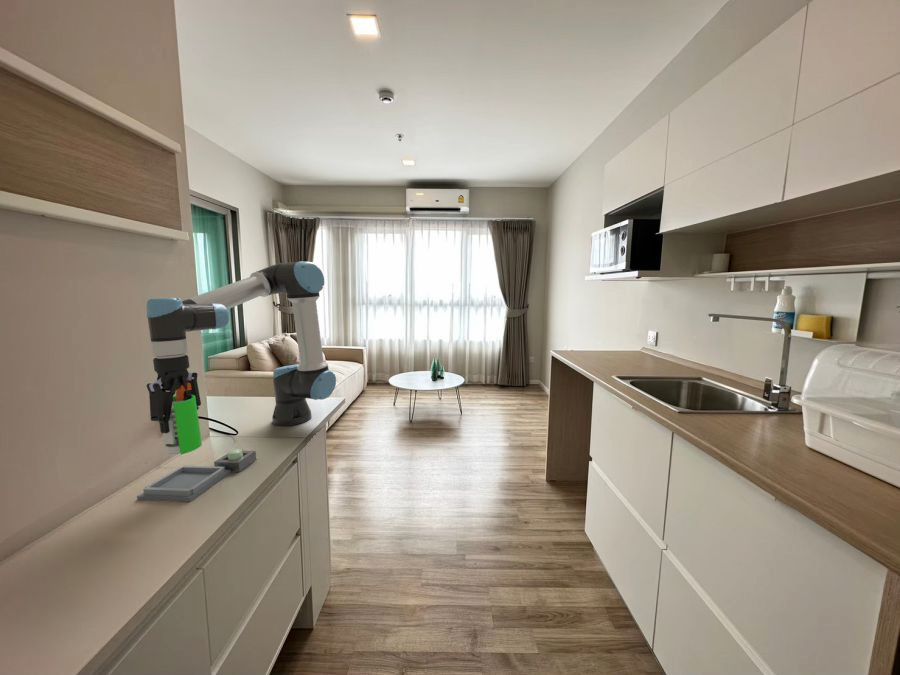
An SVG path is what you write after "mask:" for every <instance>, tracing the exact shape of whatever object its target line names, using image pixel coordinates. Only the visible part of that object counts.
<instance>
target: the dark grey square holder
mask: <svg viewBox="0 0 900 675" xmlns="http://www.w3.org/2000/svg"><path fill="white" fill-rule="evenodd" d="M242 451H243V457H241V458H240V459H239V460H228V452H227V453H226V454H224V455H223V456H221V457H219V458H218V459H216V460H215V461H213V465H214V466H217V467H225V469H227V470H231V473H241V472H242V471H243V470H245V469H247V468H248V467H249V466H250V465H252V464H253V463H254V462H256V461H257V452H256V450H242ZM255 460H256V461H255Z"/></svg>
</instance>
